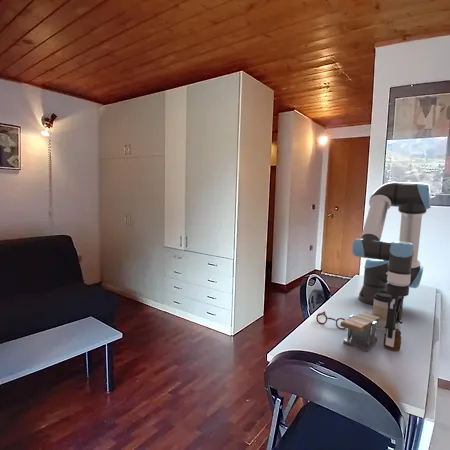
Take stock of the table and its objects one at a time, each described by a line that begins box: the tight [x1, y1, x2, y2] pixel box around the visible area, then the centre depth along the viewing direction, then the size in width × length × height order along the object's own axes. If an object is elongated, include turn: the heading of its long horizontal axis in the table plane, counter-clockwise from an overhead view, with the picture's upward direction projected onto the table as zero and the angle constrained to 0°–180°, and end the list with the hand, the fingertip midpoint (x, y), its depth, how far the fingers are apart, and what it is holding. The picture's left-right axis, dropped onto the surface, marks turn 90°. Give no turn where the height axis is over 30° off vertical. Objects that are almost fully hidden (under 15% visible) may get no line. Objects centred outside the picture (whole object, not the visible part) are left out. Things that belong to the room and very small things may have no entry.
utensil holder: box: [382, 322, 402, 352], centre depth 124 cm, size 6×6×12 cm
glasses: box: [315, 310, 347, 330], centre depth 146 cm, size 13×13×5 cm
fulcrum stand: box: [342, 314, 378, 353], centre depth 127 cm, size 12×9×10 cm
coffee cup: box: [372, 291, 392, 331], centre depth 142 cm, size 9×9×15 cm
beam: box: [339, 311, 382, 332], centre depth 127 cm, size 28×7×2 cm, turn 140°
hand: (391, 342), depth 124 cm, fingers closed on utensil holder, 6 cm apart
